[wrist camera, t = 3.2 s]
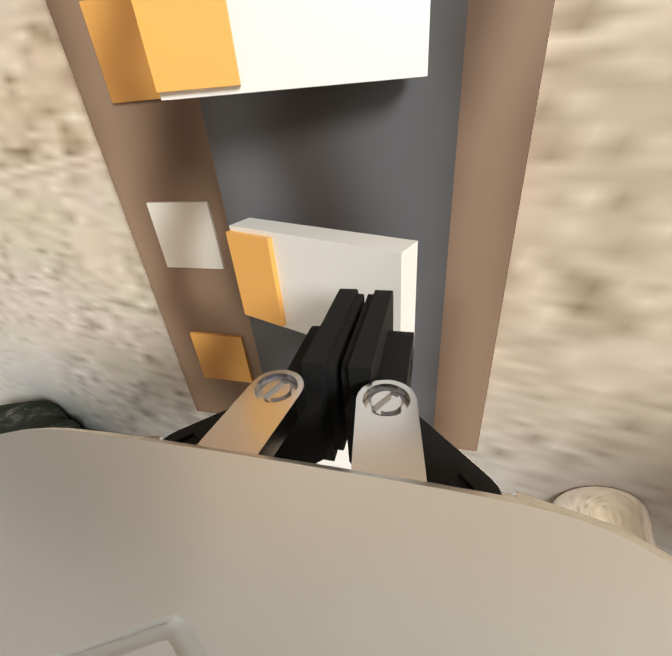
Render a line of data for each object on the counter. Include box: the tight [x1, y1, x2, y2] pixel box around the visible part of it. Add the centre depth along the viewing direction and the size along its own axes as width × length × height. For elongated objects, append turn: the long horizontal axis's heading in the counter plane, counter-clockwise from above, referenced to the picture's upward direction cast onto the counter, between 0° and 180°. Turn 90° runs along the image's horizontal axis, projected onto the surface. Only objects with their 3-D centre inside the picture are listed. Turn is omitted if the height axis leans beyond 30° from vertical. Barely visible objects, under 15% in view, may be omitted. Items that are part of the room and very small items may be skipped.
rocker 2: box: [226, 218, 418, 334], centre depth 15 cm, size 8×4×2 cm, turn 93°
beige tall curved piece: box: [552, 486, 656, 547], centre depth 22 cm, size 7×7×15 cm
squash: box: [0, 401, 81, 434], centre depth 37 cm, size 14×15×15 cm
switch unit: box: [46, 0, 555, 451], centre depth 20 cm, size 22×30×6 cm
